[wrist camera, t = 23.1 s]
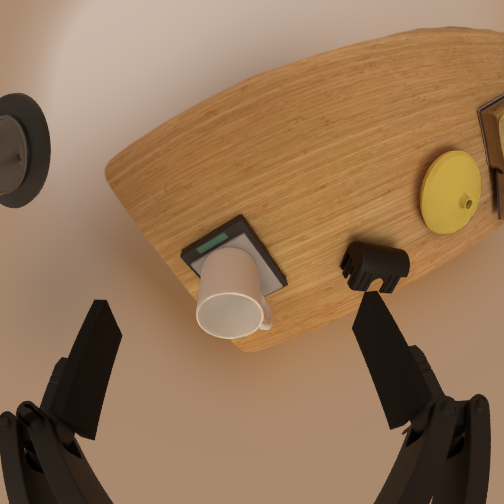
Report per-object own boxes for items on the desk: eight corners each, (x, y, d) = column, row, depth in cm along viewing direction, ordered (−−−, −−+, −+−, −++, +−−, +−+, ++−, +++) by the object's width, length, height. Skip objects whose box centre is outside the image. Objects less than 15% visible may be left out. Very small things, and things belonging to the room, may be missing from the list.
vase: (474, 202, 40) (496, 218, 34) (422, 240, 44) (442, 261, 38) (461, 132, 32) (489, 143, 26) (401, 169, 36) (426, 185, 30)
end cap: (396, 240, 43) (415, 262, 38) (381, 272, 47) (396, 296, 41) (351, 231, 42) (368, 254, 36) (336, 267, 45) (349, 292, 40)
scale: (182, 249, 42) (179, 259, 39) (241, 213, 39) (241, 221, 37) (231, 304, 48) (232, 314, 46) (286, 277, 46) (288, 287, 44)
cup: (224, 235, 38) (223, 280, 29) (285, 277, 42) (297, 325, 34) (191, 272, 41) (183, 320, 32) (250, 307, 45) (255, 355, 37)
